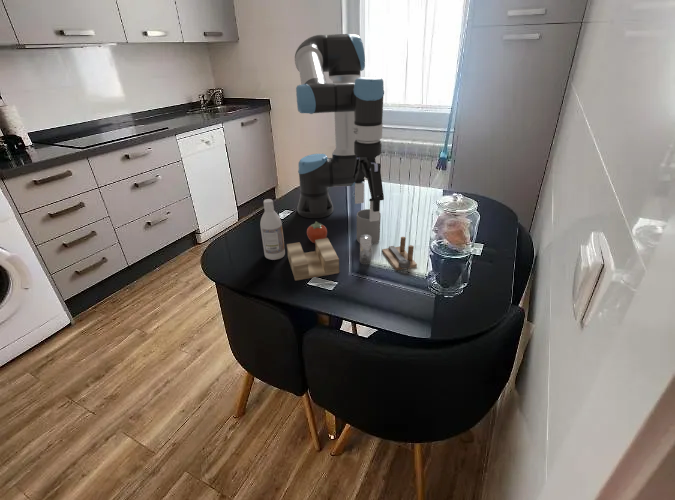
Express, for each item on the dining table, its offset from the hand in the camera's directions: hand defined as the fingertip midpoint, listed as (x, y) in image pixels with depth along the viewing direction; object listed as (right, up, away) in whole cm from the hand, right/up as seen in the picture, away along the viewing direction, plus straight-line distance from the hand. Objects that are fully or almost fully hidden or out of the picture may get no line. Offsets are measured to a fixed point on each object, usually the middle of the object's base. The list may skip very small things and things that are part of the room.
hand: (366, 211), depth 109 cm
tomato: (-16, -9, +22) cm, 28 cm away
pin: (0, -15, +9) cm, 18 cm away
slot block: (-17, -17, +8) cm, 25 cm away
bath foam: (-30, -14, +14) cm, 36 cm away
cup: (+2, -8, +22) cm, 24 cm away
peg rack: (+11, -15, +10) cm, 21 cm away
